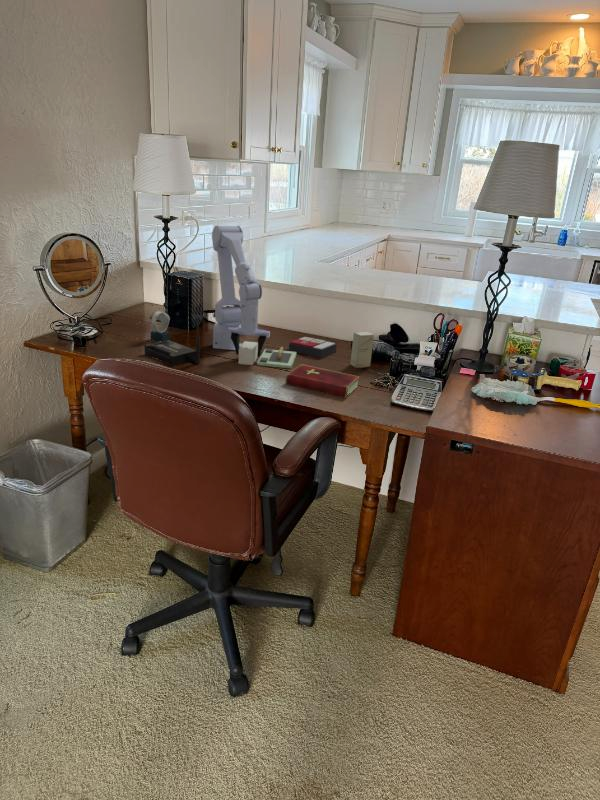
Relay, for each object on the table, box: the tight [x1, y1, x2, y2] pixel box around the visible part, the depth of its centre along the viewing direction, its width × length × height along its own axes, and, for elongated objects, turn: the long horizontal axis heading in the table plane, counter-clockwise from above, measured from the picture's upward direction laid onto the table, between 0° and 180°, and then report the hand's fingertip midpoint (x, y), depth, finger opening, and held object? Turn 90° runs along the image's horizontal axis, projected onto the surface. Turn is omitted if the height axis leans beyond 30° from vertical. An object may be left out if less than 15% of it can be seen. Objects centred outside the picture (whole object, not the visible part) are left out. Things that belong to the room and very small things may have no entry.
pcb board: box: [256, 346, 298, 370], centre depth 201 cm, size 12×16×4 cm
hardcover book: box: [285, 363, 361, 399], centre depth 181 cm, size 12×21×4 cm, turn 66°
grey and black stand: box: [143, 316, 201, 367], centre depth 193 cm, size 20×14×17 cm
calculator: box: [288, 336, 337, 359], centre depth 214 cm, size 11×4×15 cm
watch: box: [150, 310, 171, 342], centre depth 212 cm, size 6×8×11 cm
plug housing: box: [238, 340, 258, 366], centre depth 198 cm, size 5×9×6 cm, turn 173°
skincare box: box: [349, 331, 375, 369], centre depth 200 cm, size 6×4×12 cm
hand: (248, 354), depth 199 cm, fingers open, 7 cm apart
